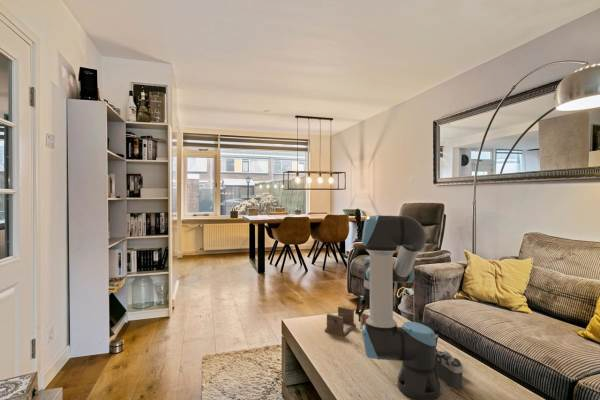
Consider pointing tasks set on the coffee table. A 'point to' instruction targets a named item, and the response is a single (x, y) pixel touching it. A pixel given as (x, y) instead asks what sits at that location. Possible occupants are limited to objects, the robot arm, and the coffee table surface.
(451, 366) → the camera
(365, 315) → the small box
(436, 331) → the coffee cup
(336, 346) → the coffee table surface
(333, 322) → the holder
